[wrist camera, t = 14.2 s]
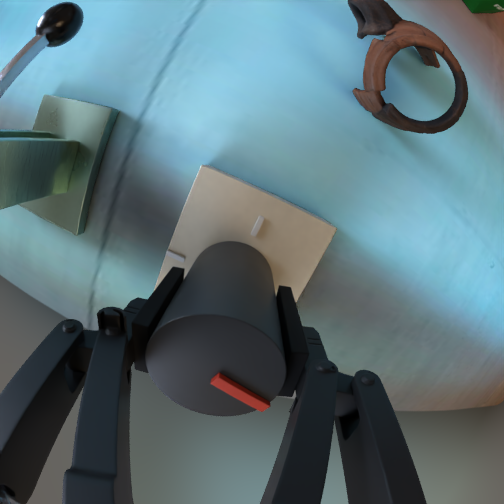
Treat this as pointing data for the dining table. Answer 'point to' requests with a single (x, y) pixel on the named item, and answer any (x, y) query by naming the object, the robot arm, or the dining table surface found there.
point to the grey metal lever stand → (56, 161)
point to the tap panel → (248, 228)
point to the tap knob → (221, 335)
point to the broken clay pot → (381, 51)
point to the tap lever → (44, 38)
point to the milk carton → (485, 6)
